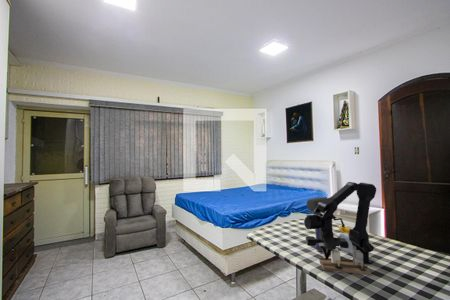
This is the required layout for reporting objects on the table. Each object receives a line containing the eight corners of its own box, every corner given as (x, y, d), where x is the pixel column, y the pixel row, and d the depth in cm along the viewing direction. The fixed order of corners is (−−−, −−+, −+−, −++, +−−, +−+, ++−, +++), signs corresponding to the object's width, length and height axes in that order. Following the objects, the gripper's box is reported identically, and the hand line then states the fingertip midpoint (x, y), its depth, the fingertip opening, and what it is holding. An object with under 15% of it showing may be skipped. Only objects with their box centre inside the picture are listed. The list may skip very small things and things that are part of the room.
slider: (331, 260, 108) (330, 248, 109) (337, 260, 108) (337, 248, 108) (335, 267, 102) (335, 254, 102) (342, 268, 101) (342, 255, 101)
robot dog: (336, 235, 144) (335, 215, 144) (364, 245, 128) (364, 223, 128) (330, 237, 141) (330, 216, 141) (359, 247, 125) (358, 224, 125)
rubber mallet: (316, 255, 116) (315, 199, 116) (306, 250, 123) (305, 197, 123) (332, 250, 121) (331, 197, 122) (321, 245, 128) (320, 195, 129)
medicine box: (358, 253, 119) (357, 237, 119) (353, 254, 117) (352, 238, 117) (344, 247, 126) (344, 232, 126) (339, 249, 124) (339, 233, 124)
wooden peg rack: (319, 261, 110) (318, 247, 110) (362, 264, 107) (361, 249, 107) (324, 270, 101) (323, 255, 102) (371, 274, 98) (370, 258, 98)
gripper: (309, 232, 101) (310, 266, 101) (353, 234, 98) (353, 269, 97) (305, 224, 112) (305, 254, 112) (344, 226, 109) (344, 257, 108)
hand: (326, 259), depth 107 cm, fingers closed
